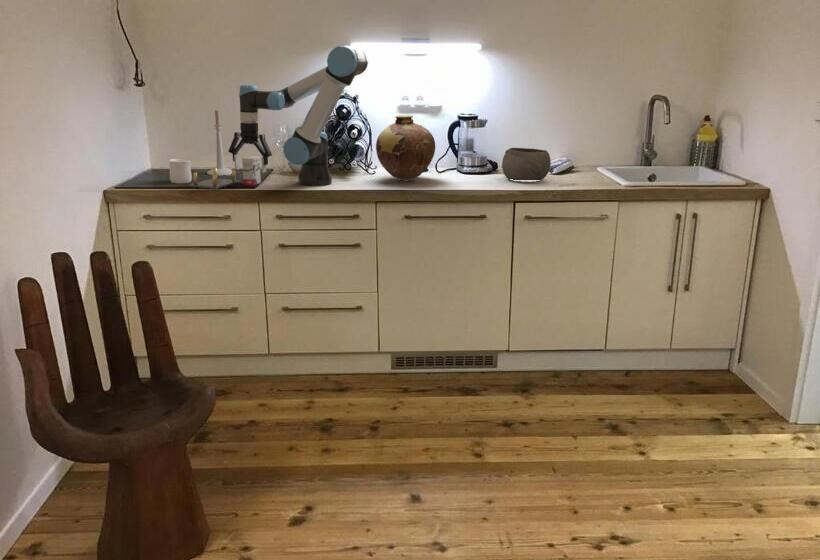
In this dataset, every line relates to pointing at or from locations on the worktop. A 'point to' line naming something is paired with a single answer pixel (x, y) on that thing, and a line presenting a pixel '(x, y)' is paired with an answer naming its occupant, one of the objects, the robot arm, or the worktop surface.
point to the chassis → (214, 181)
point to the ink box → (251, 170)
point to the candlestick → (219, 151)
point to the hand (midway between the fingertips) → (250, 170)
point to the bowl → (526, 164)
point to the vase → (405, 148)
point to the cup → (180, 170)
